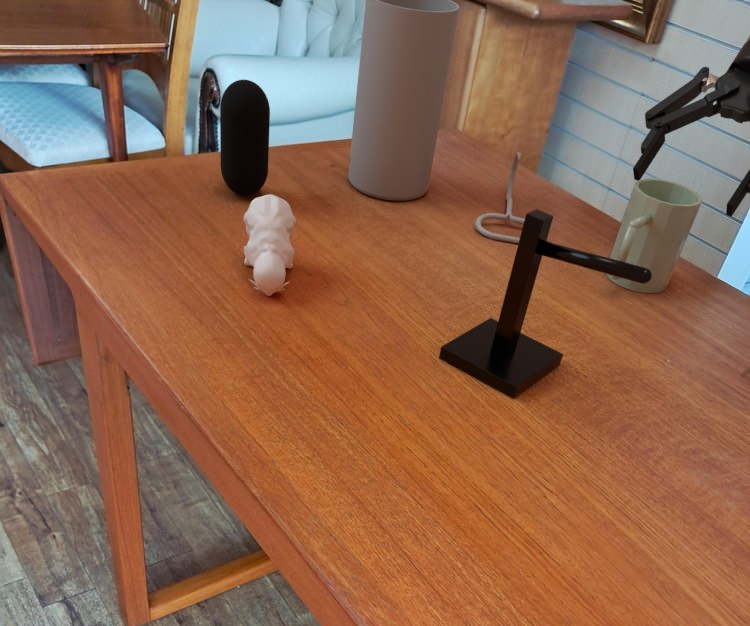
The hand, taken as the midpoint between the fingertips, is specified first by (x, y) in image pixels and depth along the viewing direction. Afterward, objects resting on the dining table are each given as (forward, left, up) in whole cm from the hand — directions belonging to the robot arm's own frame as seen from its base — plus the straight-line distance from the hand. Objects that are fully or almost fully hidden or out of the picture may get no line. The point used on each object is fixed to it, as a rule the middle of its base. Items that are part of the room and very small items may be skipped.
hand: (681, 192), depth 106 cm
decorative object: (+36, +47, -11) cm, 60 cm away
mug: (-3, +7, -11) cm, 13 cm away
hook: (+20, +11, -11) cm, 25 cm away
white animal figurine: (+12, +54, -11) cm, 57 cm away
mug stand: (-17, +36, -11) cm, 41 cm away
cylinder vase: (+34, +24, -11) cm, 43 cm away
